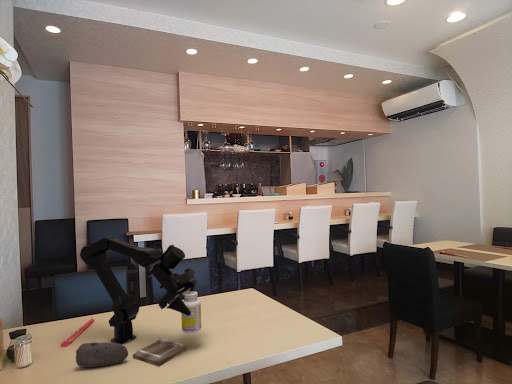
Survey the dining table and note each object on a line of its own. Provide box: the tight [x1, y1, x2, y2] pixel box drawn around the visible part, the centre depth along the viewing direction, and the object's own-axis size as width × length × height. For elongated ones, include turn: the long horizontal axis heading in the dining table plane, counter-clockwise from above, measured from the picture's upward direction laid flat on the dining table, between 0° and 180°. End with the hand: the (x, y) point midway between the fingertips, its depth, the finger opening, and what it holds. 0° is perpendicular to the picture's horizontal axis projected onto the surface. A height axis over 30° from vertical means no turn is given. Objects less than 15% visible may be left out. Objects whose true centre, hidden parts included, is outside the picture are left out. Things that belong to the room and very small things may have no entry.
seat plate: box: [132, 337, 187, 367], centre depth 107 cm, size 12×12×2 cm
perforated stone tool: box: [75, 341, 129, 368], centre depth 101 cm, size 15×5×7 cm, turn 98°
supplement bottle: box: [181, 290, 202, 334], centre depth 112 cm, size 7×7×13 cm
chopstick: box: [60, 317, 95, 348], centre depth 126 cm, size 24×2×5 cm
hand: (194, 311), depth 111 cm, fingers closed on supplement bottle, 7 cm apart
